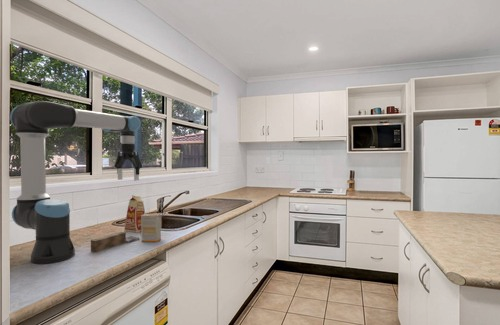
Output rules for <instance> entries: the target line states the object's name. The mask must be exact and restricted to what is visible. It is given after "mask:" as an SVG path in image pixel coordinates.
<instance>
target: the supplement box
mask: <svg viewBox="0 0 500 325" xmlns="http://www.w3.org/2000/svg"><path fill="white" fill-rule="evenodd" d="M161 221H162V220H161V213H145V214H143V215H141V231H140V232H141V234H140V235H141V242H144V243H145V242H147V243H149V242H150V243H158V242H160V241H161V239H162V232H161V230H162V226H161V224H162V223H161Z"/></svg>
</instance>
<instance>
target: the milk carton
mask: <svg viewBox="0 0 500 325" xmlns="http://www.w3.org/2000/svg"><path fill="white" fill-rule="evenodd" d="M131 196H132V197H130V199H129V202H128V206H127V210H126V218H125V221H124V230H123V232H130V233H140V232H141V215H143V214H146V210H145V205H144V201H143V200H142V199H141V196H136V195H131Z"/></svg>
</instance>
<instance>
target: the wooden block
mask: <svg viewBox="0 0 500 325" xmlns="http://www.w3.org/2000/svg"><path fill="white" fill-rule="evenodd" d="M126 232H127V231H119V232H116V233H112V234H107V235H104V236H102V237H98V238H94V239H91V240H90V251H91V253H98V252H101V251H104V250H108V249H110V248H113V247H116V246H121V245H123V244H129V243H132V242H136V241H139V240H140V237H139V236H133V235H129V236H127V233H126Z"/></svg>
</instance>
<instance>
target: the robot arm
mask: <svg viewBox="0 0 500 325" xmlns="http://www.w3.org/2000/svg"><path fill="white" fill-rule="evenodd" d="M9 118H10V123H11V124H12V125H13V126H14V128H15V135H17V137H19V138H20V142H19V143H20V186H21V187H20V191H21V192H20V193H21V194H20V195H19V196H18V197H17V198H16V205H15V206H14V207H13V208H12V211H11V219H12V221H13V222H14V223H15V225H17V226H19V227H21V228H23V229H27V230H29V229H30V230H34V231H35V243H34V245H33V247H32V251H31V253H30V263H32V264H37V265H40V264H42V265H43V264H46V265H47V264H52V263H59V262H62V261H65V260H68V259H71V258H72V257H74V256H75V255H76V254H75V253H76V249H75V246H74V244H73V241H72V239H71V233H70V232H71V231H70V230H71V229H70V228H71V227H70V223H71V222H70V221H71V220H70V216H71V215H70V213H71V209H70V203H69V202H68V201H67V200H63V199H53V198H51V196H50V195H49V194H48V193H47V191H46V190H47V189H46V188H47V184H46V183H47V181H46V180H47V179H46V178H47V177H46V176H47V175H46V171H47V170H46V169H47V168H46V138H48V137H49V136H50V129H59V128H65V129H66V128H68V129H71V128H73V127H78V128H79V127H80V128H81V127H82V128H90V129H91V128H94V129H101V130H102V131H103V132H108V133H119V134H120V143H121V144H120V150H121V151H118V152H117V156H116V160H115V163H114V168H116V174H117V181H118V180H123V165H125V164H124V163H125V162H126V161H127V160H129V161H130V162H131V164H132V165H133V168H134V169H133V180H134V181H139V180H140V169H142V168H143V165H142V162H141V159H140V156H139V152H138V151H135V149H136V145H135V143H136V142H135V138H136V137H135V135H136V132H137V131H138V130H140V128H141V125H142V124H141V123H142V122H141V120H140V118H139V117H137V116H133V115H131V116H128V115H126V116H125V115H119V114H112V113H105V112H99V111H93V110H86V109H79V108H75V107H74V106H72V105H68V104H64V103H63V104H62V103H57V102H52V101H48V100H47V101H46V100H45V101H44V100H39V101H38V100H37V101H32V102H23V103H21V104H19V105H16V106H15V107H14V108H12V110H11V111H10V115H9Z"/></svg>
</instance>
